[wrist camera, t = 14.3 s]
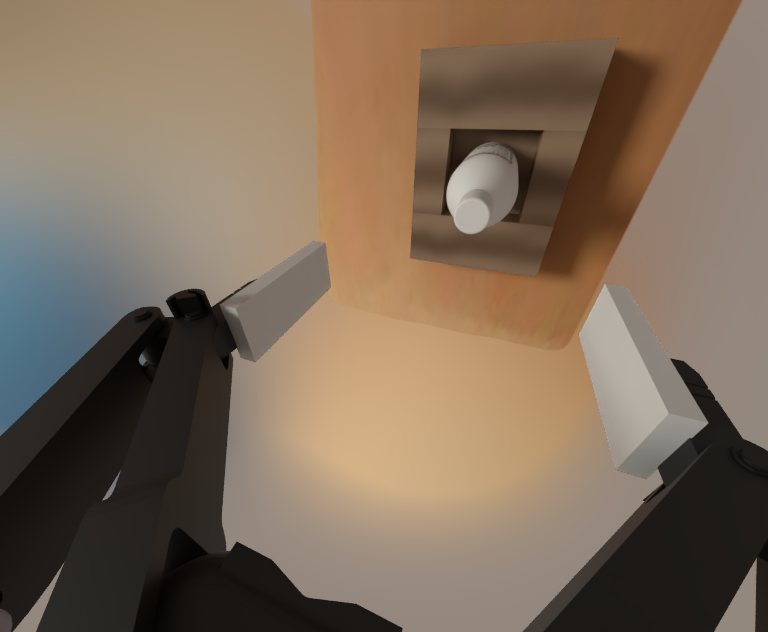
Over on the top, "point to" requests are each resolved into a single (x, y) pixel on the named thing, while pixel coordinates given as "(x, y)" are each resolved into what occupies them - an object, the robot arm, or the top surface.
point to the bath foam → (483, 187)
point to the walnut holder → (507, 126)
